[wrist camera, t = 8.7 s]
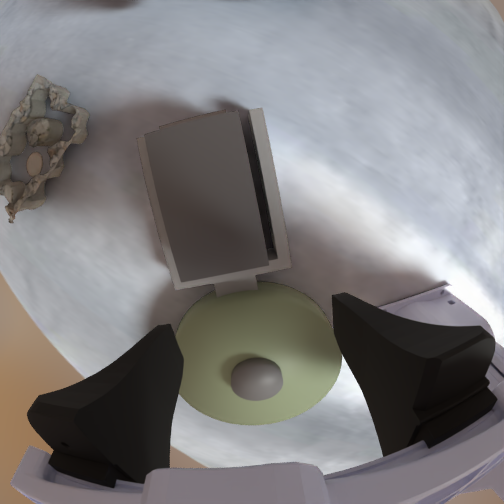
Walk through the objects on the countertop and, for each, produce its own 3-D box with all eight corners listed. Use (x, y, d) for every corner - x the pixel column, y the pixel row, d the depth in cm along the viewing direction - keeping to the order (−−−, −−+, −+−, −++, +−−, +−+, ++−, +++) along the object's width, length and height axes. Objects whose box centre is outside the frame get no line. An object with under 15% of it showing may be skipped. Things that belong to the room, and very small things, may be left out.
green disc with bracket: (301, 109, 17) (316, 96, 13) (333, 387, 25) (344, 414, 21) (113, 154, 17) (86, 152, 14) (202, 410, 25) (199, 438, 21)
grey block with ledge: (171, 138, 18) (142, 127, 12) (237, 122, 17) (236, 102, 12) (196, 249, 20) (181, 282, 14) (260, 236, 20) (269, 265, 14)
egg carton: (37, 220, 19) (8, 231, 15) (3, 166, 17) (-24, 171, 13) (104, 127, 17) (77, 121, 13) (63, 76, 15) (36, 66, 11)
